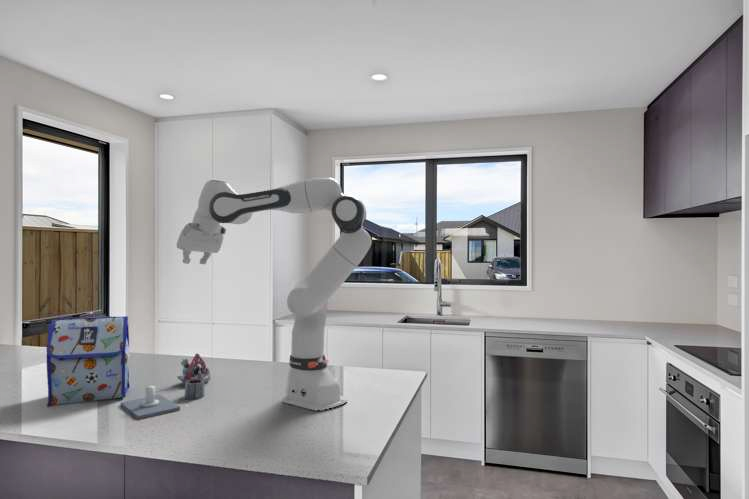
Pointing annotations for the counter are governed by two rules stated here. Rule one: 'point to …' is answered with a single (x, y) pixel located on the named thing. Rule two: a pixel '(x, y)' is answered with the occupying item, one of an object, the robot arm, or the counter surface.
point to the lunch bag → (87, 359)
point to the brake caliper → (194, 370)
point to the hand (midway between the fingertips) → (194, 263)
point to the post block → (149, 405)
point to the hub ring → (194, 389)
